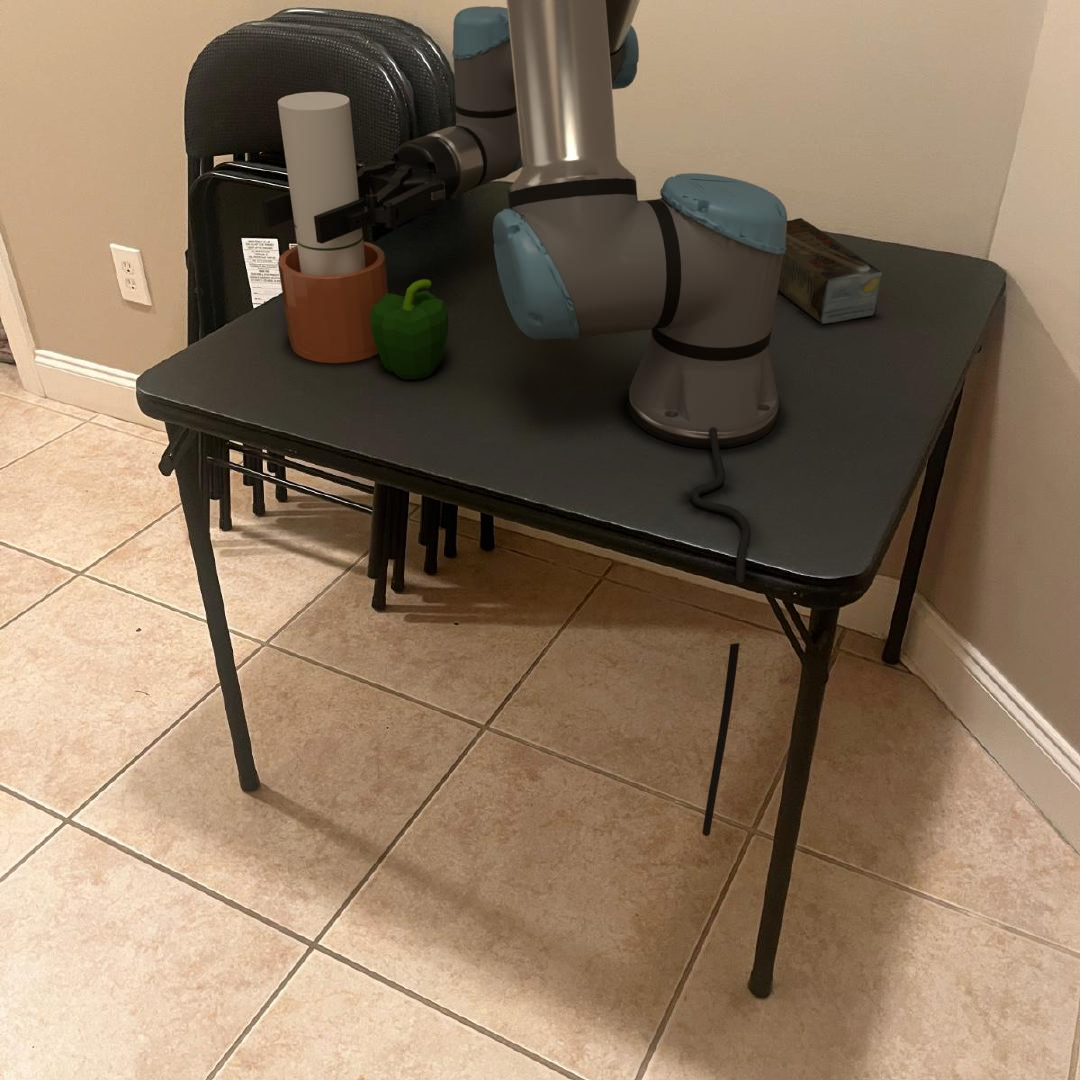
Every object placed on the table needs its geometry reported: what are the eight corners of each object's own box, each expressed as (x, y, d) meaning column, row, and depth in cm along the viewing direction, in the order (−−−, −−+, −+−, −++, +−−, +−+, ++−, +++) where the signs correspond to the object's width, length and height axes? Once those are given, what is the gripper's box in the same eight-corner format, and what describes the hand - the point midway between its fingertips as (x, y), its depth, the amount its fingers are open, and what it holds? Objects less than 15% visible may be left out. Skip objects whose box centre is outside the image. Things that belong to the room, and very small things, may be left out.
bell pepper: (378, 390, 109) (369, 302, 103) (372, 356, 116) (364, 271, 110) (456, 383, 111) (451, 296, 105) (446, 350, 117) (442, 266, 111)
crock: (393, 360, 115) (386, 275, 109) (288, 366, 114) (275, 280, 108) (390, 317, 124) (383, 236, 118) (292, 322, 123) (280, 241, 117)
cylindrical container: (365, 312, 122) (343, 89, 107) (376, 338, 117) (355, 107, 102) (304, 320, 120) (273, 94, 105) (313, 346, 115) (282, 112, 100)
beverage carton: (818, 326, 123) (828, 274, 119) (742, 268, 138) (749, 220, 134) (875, 317, 125) (886, 265, 121) (795, 261, 140) (802, 213, 136)
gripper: (502, 217, 119) (364, 279, 104) (377, 183, 128) (233, 235, 114) (501, 151, 115) (357, 206, 100) (371, 120, 124) (221, 167, 109)
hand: (291, 221), depth 107 cm, fingers closed on cylindrical container, 7 cm apart
